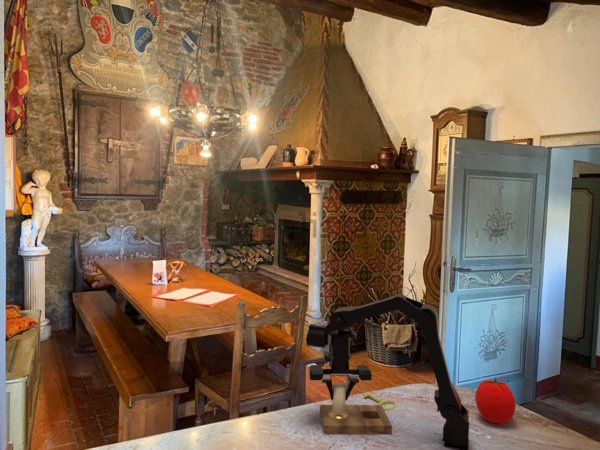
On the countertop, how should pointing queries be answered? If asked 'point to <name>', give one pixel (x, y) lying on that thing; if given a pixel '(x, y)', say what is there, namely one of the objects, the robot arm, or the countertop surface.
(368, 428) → the walnut holder
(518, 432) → the countertop surface
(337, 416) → the brass disc
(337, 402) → the ivory candle
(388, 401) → the key
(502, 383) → the tomato
